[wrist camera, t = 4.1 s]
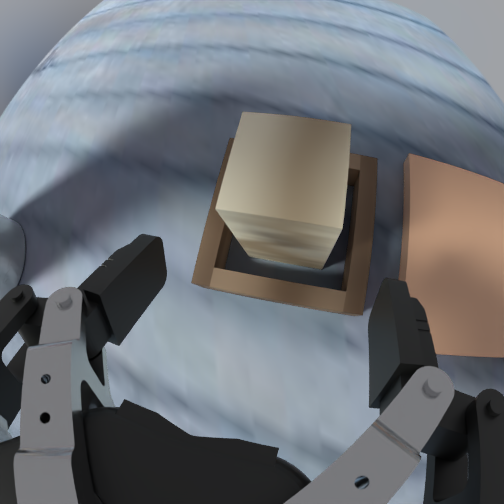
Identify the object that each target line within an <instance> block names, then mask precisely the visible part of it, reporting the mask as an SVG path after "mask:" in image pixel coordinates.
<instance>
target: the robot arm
mask: <svg viewBox="0 0 504 504" xmlns="http://www.w3.org/2000/svg"><path fill="white" fill-rule="evenodd" d="M24 260H25V237H24V233H23V230H22V227H21V226H20V224H18V223H17V222H16V221H13V220H11V219H9V218H7V217H5V216H2V215H0V504H387V503H388V502H389V500H390V499H391V498H392V497H393V496H394V495H395V493H396V492H397V491H398V490H399V489H400V487H401V486H402V485H403V484H404V482H405V481H406V480H407V479H408V477H409V476H410V475H411V473H412V472H413V471H414V469H415V468H416V466H417V465H418V463H419V462H420V460H421V456H420V455H419V454H420V452H423V453H426V454H427V468H426V482H425V492H424V501H423V504H504V396H503V395H502V394H501V393H500V392H499V391H497V390H494V389H486V390H483V391H482V392H481V393H480V394H479V395H478V396H477V397H476V398H475V397H472V396H470V395H467V394H464V393H461V392H459V391H457V390H454V385H453V382H452V380H451V379H450V377H449V376H448V375H447V374H446V373H445V372H444V371H443V370H441V369H439V368H438V363H437V358H436V353H435V348H434V344H433V339H432V335H431V333H430V327H429V323H428V319H427V315H426V312H425V309H424V307H423V306H422V305H421V303H420V302H419V300H418V299H417V298H413V297H410V293H409V290H408V286H407V283H406V281H401V280H395V279H390V278H385V279H384V280H383V282H382V284H381V287H380V290H379V293H378V295H377V298H376V300H375V303H374V306H373V308H372V311H371V314H370V317H369V323H368V337H369V408H380V416H379V417H378V418H377V420H376V421H375V422H374V423H373V424H372V425H371V426H370V427H369V428H368V429H367V430H366V431H365V432H364V433H363V434H362V435H361V436H360V438H359V439H358V440H357V441H356V442H355V443H354V444H353V445H352V446H351V447H350V448H349V449H348V450H346V451H345V452H344V453H343V454H342V455H341V456H340V457H339V458H338V459H337V460H336V461H335V462H334V463H333V464H332V465H330V466H329V467H328V468H327V469H326V470H325V471H324V472H322V473H321V474H320V475H319V476H318V477H317V478H315V479H314V480H313V481H312V482H311V481H310V480H309V478H308V477H307V476H306V475H305V474H304V473H303V472H301V471H300V470H299V469H298V468H296V467H295V466H294V465H292V464H290V463H289V462H287V461H285V460H283V459H281V458H279V457H277V453H278V450H279V448H276V447H271V446H266V445H261V444H257V443H253V442H248V441H244V440H240V439H229V438H211V437H198V436H192V435H190V434H188V433H186V432H185V431H183V430H182V429H180V428H179V427H177V426H175V425H174V424H172V423H171V422H170V421H168V420H167V419H165V418H164V417H162V416H161V415H159V414H158V413H156V412H153V411H151V410H149V409H146V408H144V407H141V406H139V405H137V404H134V403H132V402H130V401H127V400H125V399H124V401H123V403H122V404H121V406H120V407H115V405H114V402H113V400H112V397H111V394H110V388H109V379H108V369H107V357H106V349H105V347H104V346H105V344H106V343H107V342H111V343H113V344H116V345H118V346H119V345H120V344H121V343H122V341H123V340H124V338H125V337H126V336H127V334H128V333H129V332H130V330H131V329H132V327H133V326H134V325H135V323H136V322H137V321H138V319H139V318H140V317H141V315H142V314H143V313H144V311H145V310H146V309H147V307H148V306H149V305H150V303H151V302H152V301H153V299H154V298H155V297H156V295H157V294H158V293H159V291H160V290H161V289H162V287H163V286H164V284H165V281H166V277H167V269H166V262H165V255H164V248H163V242H162V239H161V238H160V237H157V236H151V235H145V234H141V235H139V236H138V237H137V238H136V239H135V240H134V241H133V242H131V243H130V244H128V245H126V246H124V247H122V248H120V249H118V250H117V251H116V252H114V253H113V254H112V255H111V256H110V257H109V258H108V260H106V261H105V262H104V263H103V264H102V266H99V267H98V268H97V269H96V270H95V271H94V272H93V273H92V274H91V275H90V276H89V277H88V278H87V279H86V280H85V281H84V282H83V283H82V284H81V285H80V286H79V287H78V288H75V287H65V288H62V289H59V290H57V291H56V292H54V293H53V294H52V295H51V296H50V297H49V298H39V297H36V295H35V293H34V291H33V289H32V287H31V286H29V285H19V286H17V285H18V283H19V280H20V277H21V274H22V270H23V265H24ZM17 332H19V334H20V335H21V337H22V339H23V340H24V342H25V343H24V344H23V346H22V347H21V348H20V349H19V351H18V352H17V353H16V355H15V356H14V357H13V359H12V360H11V361H10V363H9V364H8V365H7V367H6V366H5V364H4V363H3V361H2V351H3V349H4V348H5V347H6V345H7V344H8V343H9V342H10V340H11V339H12V338H13V337H14V335H15V334H16V333H17ZM20 409H21V418H20V436H18V437H15V438H12V436H11V434H10V433H9V432H8V429H9V427H10V425H11V424H12V422H13V420H14V419H15V417H16V415H17V414H18V412H19V410H20Z"/></svg>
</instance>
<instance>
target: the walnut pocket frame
mask: <svg viewBox="0 0 504 504" xmlns="http://www.w3.org/2000/svg"><path fill="white" fill-rule="evenodd" d="M234 139H235V138H230V139H229V142H228V145H227V149H226V152H225V155H224V159H223V162H222V166H221V169H220V173H219V176H218V180H217V184H216V187H215V191H214V194H213V198H212V202H211V206H210V209H209V213H208V217H207V221H206V225H205V229H204V232H203V236H202V240H201V244H200V248H199V253H198V257H197V261H196V265H195V269H194V273H193V278H192V282H191V283H193V284H196V285H198V286H201V287H204V288H208V289H213V290H217V291H222V292H227V293H232V294H236V295H241V296H246V297H251V298H256V299H261V300H266V301H272V302H277V303H282V304H287V305H293V306H298V307H304V308H309V309H315V310H321V311H327V312H333V313H339V314H345V315H351V316H359V315H363V310H364V303H365V297H366V291H367V284H368V277H369V269H370V261H371V252H372V243H373V232H374V220H375V206H376V188H377V158H373V157H368V156H363V155H358V154H353V153H350V155H349V169H348V181H347V185H350V186H354V188H353V200H352V210H351V220H350V229H349V237H348V245H347V253H346V260H345V267H344V274H343V280H342V286H341V291H340V290H334V289H328V288H322V287H317V286H311V285H305V284H300V283H294V282H288V281H283V280H277V279H272V278H267V277H261V276H256V275H251V274H245V273H240V272H235V271H230V270H225V265H226V261H227V257H228V252H229V248H230V243H231V239H232V235H233V233H232V232H231V230H230V229H229V227H228V226H227V225H226V223H225V222H224V220H223V219H222V218H221V216H220V215H219V213H218V212H217V211H216V209H215V208H216V204H217V200H218V196H219V193H220V189H221V185H222V182H223V178H224V174H225V171H226V167H227V163H228V160H229V156H230V153H231V149H232V146H233V142H234Z"/></svg>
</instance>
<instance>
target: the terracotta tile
mask: <svg viewBox="0 0 504 504" xmlns="http://www.w3.org/2000/svg"><path fill="white" fill-rule="evenodd" d="M403 167H404V206H403V231H402V247H401V259H400V269H399V278H398V280H401V281H406V283H407V286H408V290H409V293H410V297H413V298H417V299H418V300H419V302H420V303H421V305H422V306H423V307H424V309H425V312H426V315H427V319H428V323H429V327H430V333H431V335H432V339H433V344H434V348H435V353H436V354H444V355H458V356H476V357H504V184H503V183H501V182H498V181H496V180H493V179H490V178H488V177H485V176H482V175H479V174H477V173H474V172H471V171H468V170H465V169H462V168H459V167H456V166H452V165H449V164H446V163H443V162H439V161H436V160H432V159H429V158H425V157H421V156H418V155H414V154H410V153H409V154H408V156H407V158H406V159H405V161H404V163H403Z"/></svg>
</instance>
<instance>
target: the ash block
mask: <svg viewBox="0 0 504 504" xmlns="http://www.w3.org/2000/svg"><path fill="white" fill-rule="evenodd" d="M350 139H351V124H346V123H340V122H334V121H327V120H321V119H314V118H306V117H298V116H289V115H279V114H268V113H255V112H242V115H241V119H240V122H239V125H238V129H237V132H236V136H235V139H234V142H233V146H232V149H231V153H230V156H229V160H228V163H227V167H226V171H225V174H224V178H223V182H222V185H221V189H220V193H219V196H218V200H217V204H216V208H215V209H216V211H217V212H218V213H219V215H220V216H221V218H222V219H223V220H224V222H225V223H226V225H227V226H228V227H229V229H230V230H231V232H232V233H233V235H234V236H235V237H236V239H237V240H238V242H239V243H240V244H241V246H242V247H243V249H244V250H245V251H246V253H247V254H248V256H249V257H253V258H259V259H264V260H270V261H276V262H281V263H287V264H293V265H298V266H304V267H310V268H316V269H321V270H322V268H323V266H324V265H325V263H326V261H327V259H328V257H329V255H330V253H331V251H332V249H333V247H334V245H335V243H336V241H337V239H338V237H339V235H340V233H341V231H342V229H343V220H344V212H345V202H346V192H347V181H348V169H349V155H350Z"/></svg>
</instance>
